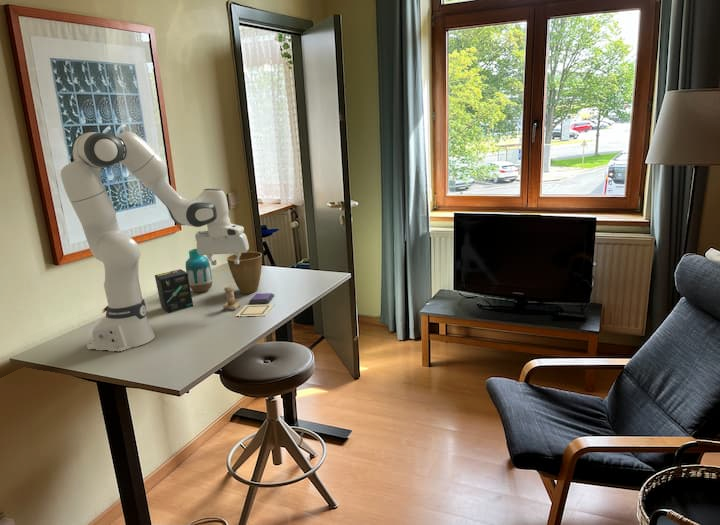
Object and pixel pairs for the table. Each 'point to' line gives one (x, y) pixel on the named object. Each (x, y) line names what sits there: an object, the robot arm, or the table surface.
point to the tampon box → (174, 290)
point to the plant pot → (246, 271)
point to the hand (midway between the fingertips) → (225, 264)
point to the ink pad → (261, 298)
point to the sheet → (255, 310)
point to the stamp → (230, 299)
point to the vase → (198, 272)
